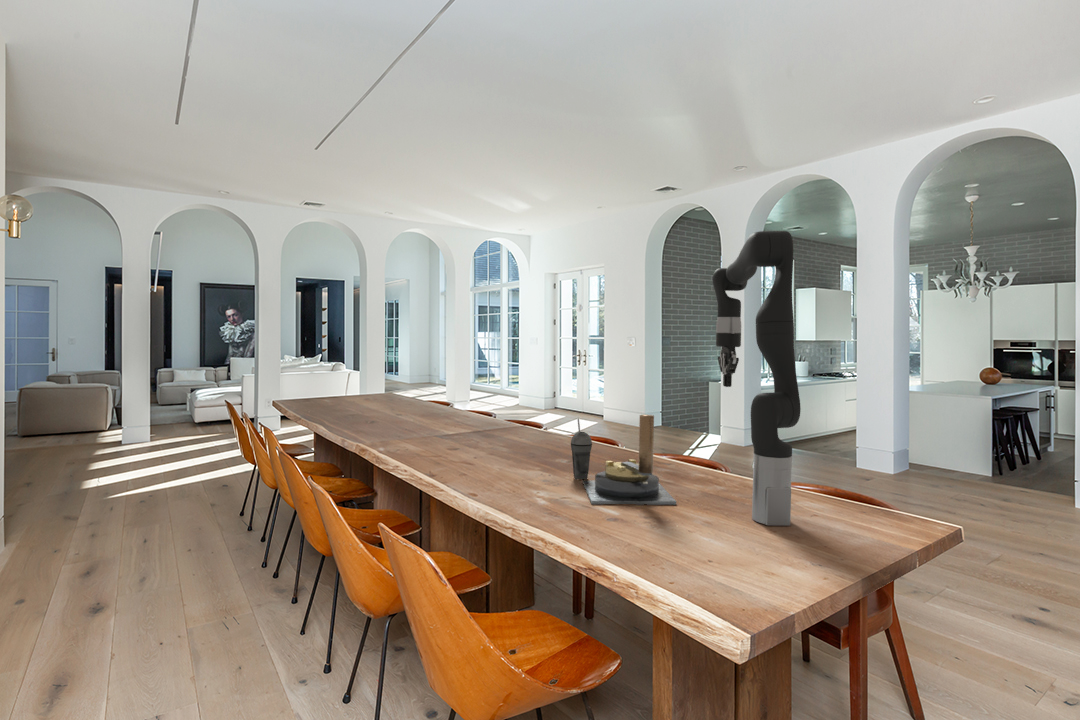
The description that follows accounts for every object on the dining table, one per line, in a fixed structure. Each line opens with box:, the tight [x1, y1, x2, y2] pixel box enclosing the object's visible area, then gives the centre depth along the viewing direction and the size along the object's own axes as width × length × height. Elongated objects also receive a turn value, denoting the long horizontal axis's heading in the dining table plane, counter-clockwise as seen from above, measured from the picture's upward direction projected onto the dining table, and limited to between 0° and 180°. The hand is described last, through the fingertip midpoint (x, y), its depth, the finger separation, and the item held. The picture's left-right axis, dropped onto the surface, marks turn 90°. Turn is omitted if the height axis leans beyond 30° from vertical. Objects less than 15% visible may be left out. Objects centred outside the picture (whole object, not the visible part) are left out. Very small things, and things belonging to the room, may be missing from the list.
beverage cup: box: [570, 418, 593, 481], centre depth 196 cm, size 7×7×20 cm
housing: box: [582, 470, 677, 506], centre depth 178 cm, size 24×24×5 cm
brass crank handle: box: [604, 414, 655, 482], centre depth 174 cm, size 20×13×20 cm, turn 20°
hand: (727, 386), depth 186 cm, fingers closed
